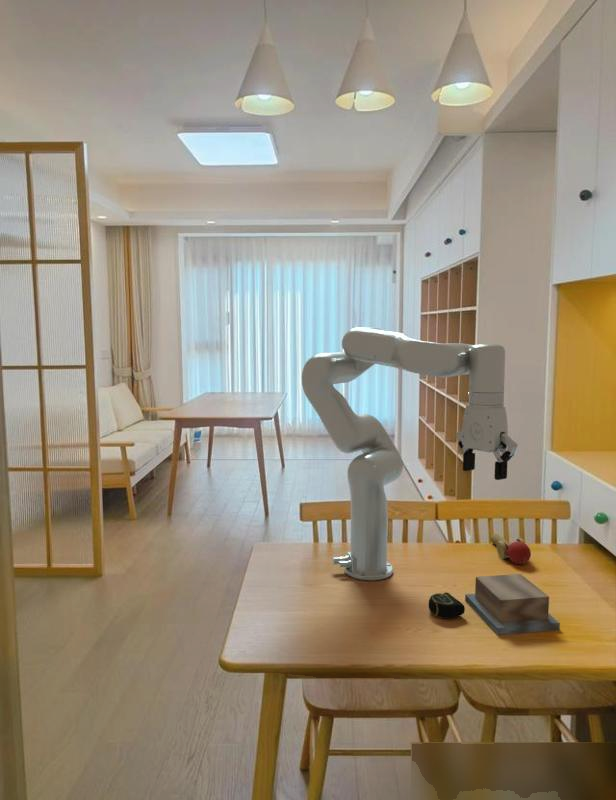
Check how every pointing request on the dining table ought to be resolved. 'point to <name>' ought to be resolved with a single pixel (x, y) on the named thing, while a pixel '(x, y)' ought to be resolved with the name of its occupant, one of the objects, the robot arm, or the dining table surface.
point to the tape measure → (445, 605)
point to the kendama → (512, 549)
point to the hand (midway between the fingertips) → (484, 474)
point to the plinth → (511, 605)
